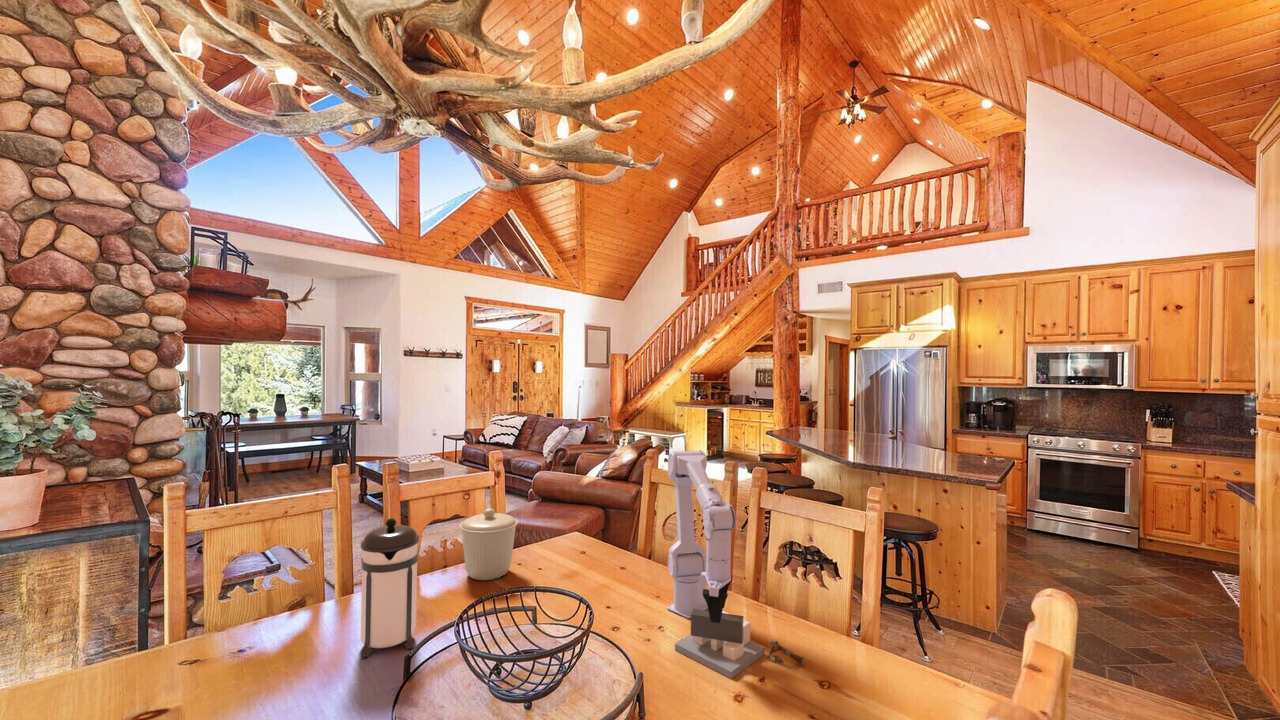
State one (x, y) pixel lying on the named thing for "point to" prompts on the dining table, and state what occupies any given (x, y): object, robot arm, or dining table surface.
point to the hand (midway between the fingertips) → (717, 614)
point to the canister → (488, 544)
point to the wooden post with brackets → (785, 651)
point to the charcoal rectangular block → (717, 626)
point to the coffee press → (388, 587)
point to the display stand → (722, 652)
